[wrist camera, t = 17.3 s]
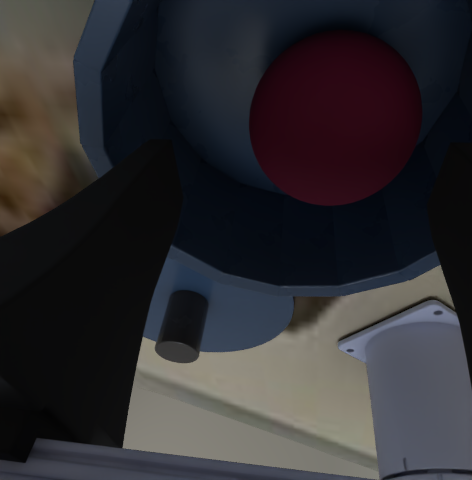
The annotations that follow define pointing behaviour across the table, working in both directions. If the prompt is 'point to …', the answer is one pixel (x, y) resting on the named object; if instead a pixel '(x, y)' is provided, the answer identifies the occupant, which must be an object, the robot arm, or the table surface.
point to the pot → (238, 138)
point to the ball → (335, 117)
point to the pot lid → (210, 315)
